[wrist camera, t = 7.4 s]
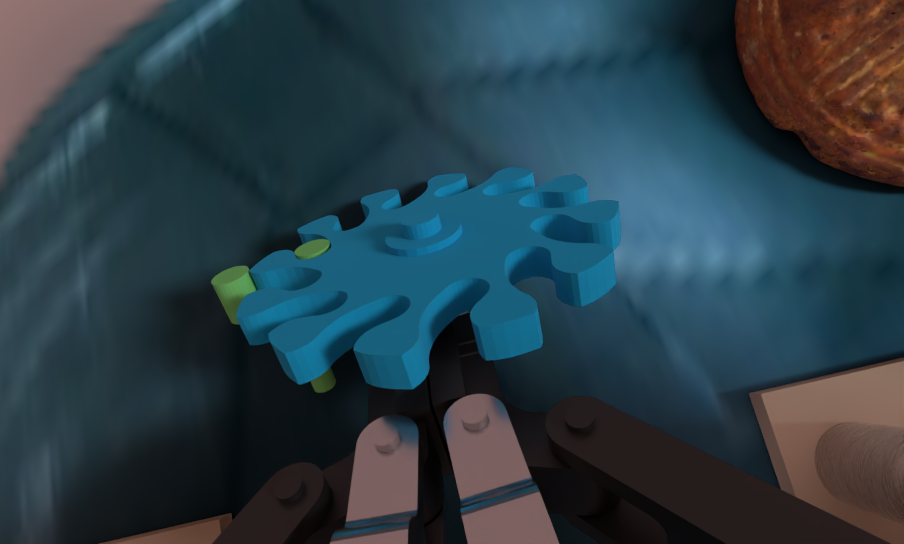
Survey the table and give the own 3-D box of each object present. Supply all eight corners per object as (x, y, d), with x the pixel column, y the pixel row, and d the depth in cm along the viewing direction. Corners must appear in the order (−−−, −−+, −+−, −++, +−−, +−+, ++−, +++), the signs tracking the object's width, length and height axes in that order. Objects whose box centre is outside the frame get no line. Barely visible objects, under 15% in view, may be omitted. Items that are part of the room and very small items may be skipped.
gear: (596, 129, 17) (663, 294, 9) (612, 286, 20) (675, 533, 11) (283, 186, 20) (89, 361, 11) (335, 320, 22) (212, 545, 14)
